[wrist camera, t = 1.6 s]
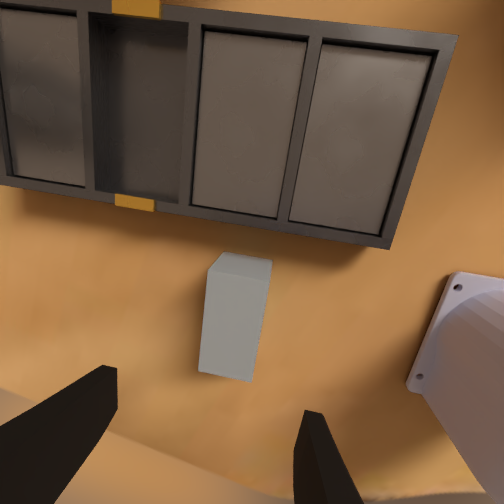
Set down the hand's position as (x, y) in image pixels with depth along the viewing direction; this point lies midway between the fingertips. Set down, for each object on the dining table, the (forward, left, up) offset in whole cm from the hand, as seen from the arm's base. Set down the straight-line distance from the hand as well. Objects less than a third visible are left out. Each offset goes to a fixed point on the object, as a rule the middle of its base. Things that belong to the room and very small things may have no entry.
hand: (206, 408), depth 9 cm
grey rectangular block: (0, 0, -10) cm, 10 cm away
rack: (+11, +4, -9) cm, 15 cm away
